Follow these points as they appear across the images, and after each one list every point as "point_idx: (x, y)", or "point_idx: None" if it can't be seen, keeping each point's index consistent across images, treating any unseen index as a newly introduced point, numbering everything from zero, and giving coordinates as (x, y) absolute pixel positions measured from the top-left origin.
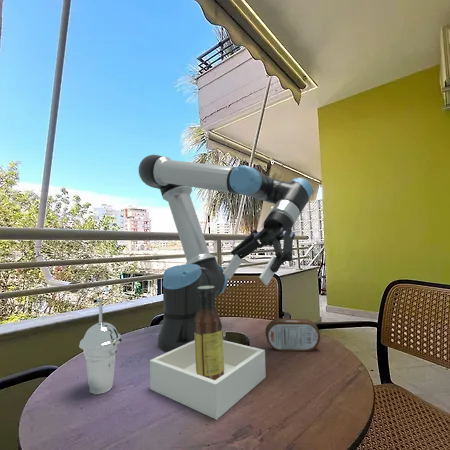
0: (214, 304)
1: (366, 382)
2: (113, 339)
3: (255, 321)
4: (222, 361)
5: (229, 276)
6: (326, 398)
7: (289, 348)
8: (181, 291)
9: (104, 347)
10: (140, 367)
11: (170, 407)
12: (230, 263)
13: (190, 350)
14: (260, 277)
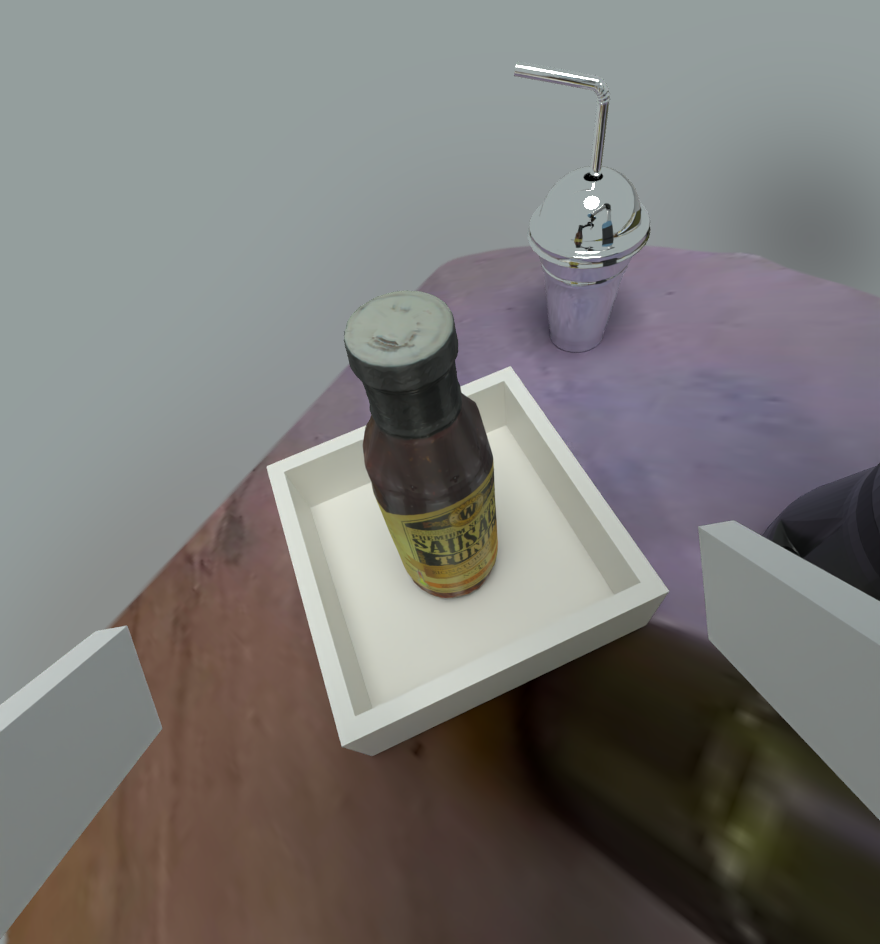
0: (377, 421)
1: None
2: (551, 240)
3: None
4: (402, 560)
5: (715, 619)
6: (139, 849)
7: None
8: None
9: (528, 236)
10: (667, 416)
11: None
12: (811, 590)
13: (582, 511)
14: (109, 630)
